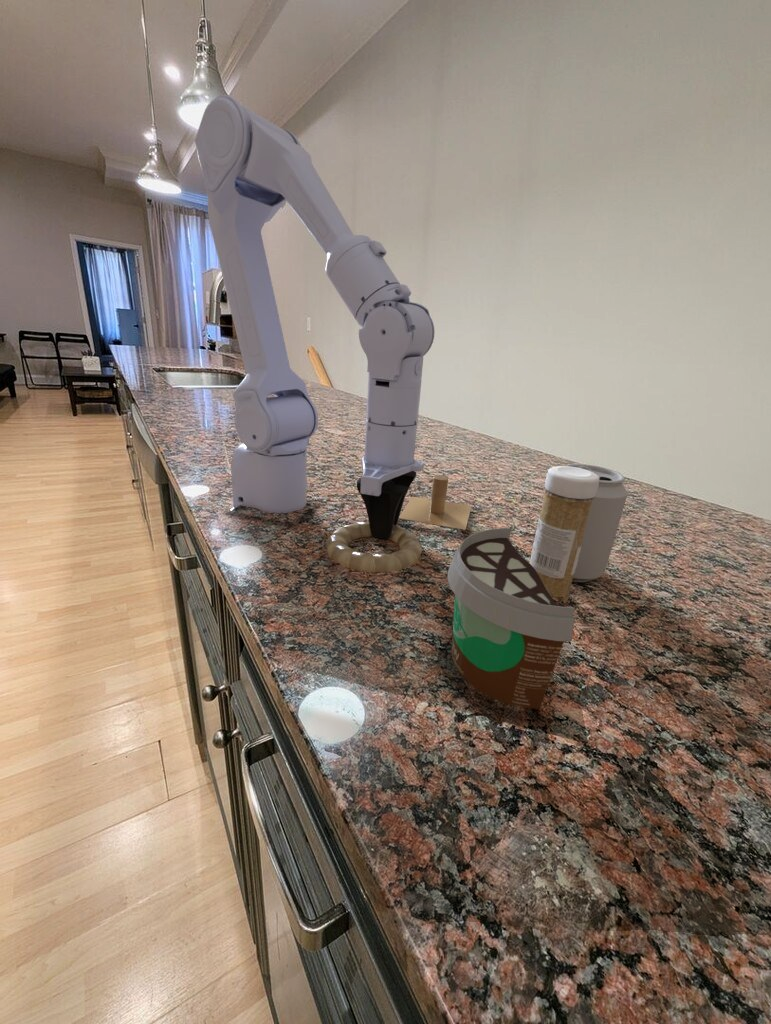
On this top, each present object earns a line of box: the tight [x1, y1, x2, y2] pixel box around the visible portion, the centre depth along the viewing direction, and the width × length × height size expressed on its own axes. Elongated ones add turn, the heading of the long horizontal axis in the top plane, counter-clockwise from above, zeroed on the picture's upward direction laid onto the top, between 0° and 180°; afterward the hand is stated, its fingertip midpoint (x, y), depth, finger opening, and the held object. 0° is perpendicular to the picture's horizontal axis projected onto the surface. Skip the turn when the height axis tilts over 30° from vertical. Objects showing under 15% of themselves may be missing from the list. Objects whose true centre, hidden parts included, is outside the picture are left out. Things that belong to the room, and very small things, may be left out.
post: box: [398, 475, 473, 531], centre depth 62 cm, size 9×9×6 cm
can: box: [564, 463, 629, 583], centre depth 50 cm, size 8×8×12 cm
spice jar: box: [529, 465, 599, 605], centre depth 44 cm, size 5×5×13 cm
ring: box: [325, 521, 423, 574], centre depth 51 cm, size 11×11×2 cm
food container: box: [447, 527, 576, 710], centre depth 33 cm, size 12×6×10 cm, turn 5°
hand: (383, 531), depth 55 cm, fingers closed on ring, 2 cm apart
